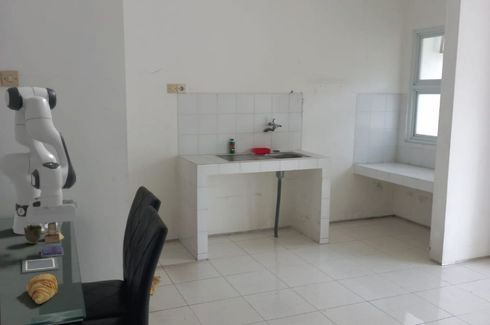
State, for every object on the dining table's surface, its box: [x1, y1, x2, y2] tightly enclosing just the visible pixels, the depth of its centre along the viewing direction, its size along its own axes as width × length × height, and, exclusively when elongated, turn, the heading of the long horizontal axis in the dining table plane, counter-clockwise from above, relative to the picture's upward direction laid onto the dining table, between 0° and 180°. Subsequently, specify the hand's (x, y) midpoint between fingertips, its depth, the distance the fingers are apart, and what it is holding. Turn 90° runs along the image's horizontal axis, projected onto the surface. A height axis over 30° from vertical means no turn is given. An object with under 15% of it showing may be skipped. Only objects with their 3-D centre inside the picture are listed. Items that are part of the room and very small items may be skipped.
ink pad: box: [40, 245, 65, 258], centre depth 202 cm, size 9×9×2 cm
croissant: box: [25, 272, 58, 305], centre depth 163 cm, size 21×10×8 cm, turn 18°
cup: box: [24, 225, 42, 246], centre depth 212 cm, size 8×7×8 cm
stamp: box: [44, 222, 60, 245], centre depth 201 cm, size 6×6×8 cm
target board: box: [21, 256, 59, 274], centre depth 188 cm, size 13×13×1 cm
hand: (51, 232), depth 201 cm, fingers closed on stamp, 3 cm apart
